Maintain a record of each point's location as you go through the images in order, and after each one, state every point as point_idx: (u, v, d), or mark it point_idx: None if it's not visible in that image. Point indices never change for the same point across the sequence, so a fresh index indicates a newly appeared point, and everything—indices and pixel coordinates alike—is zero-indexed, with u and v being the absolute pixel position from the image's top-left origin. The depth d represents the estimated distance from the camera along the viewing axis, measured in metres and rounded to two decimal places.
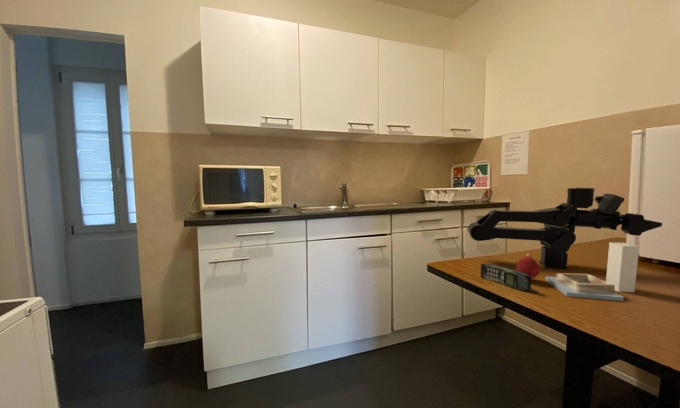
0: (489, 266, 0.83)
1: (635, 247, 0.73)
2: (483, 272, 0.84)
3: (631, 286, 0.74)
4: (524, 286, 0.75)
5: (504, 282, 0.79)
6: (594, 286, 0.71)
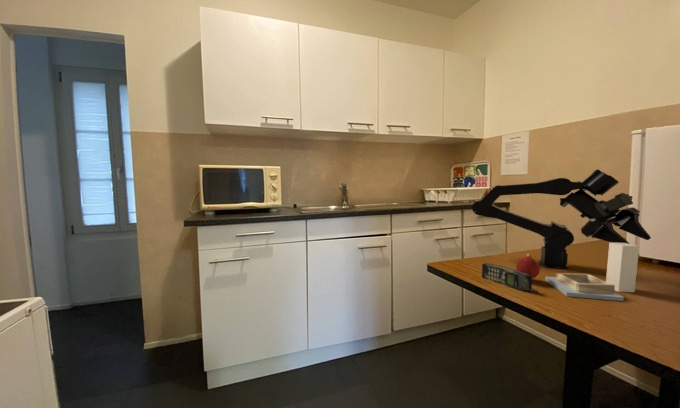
0: (490, 266, 0.83)
1: (635, 247, 0.73)
2: (484, 272, 0.84)
3: (631, 286, 0.74)
4: (524, 286, 0.75)
5: (505, 281, 0.79)
6: (594, 286, 0.71)
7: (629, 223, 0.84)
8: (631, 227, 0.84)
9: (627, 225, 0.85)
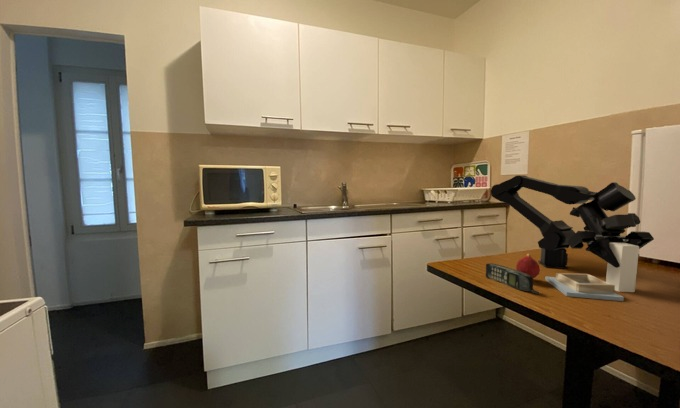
0: (493, 266, 0.83)
1: (635, 247, 0.73)
2: (488, 272, 0.85)
3: (631, 286, 0.74)
4: (525, 287, 0.74)
5: (507, 282, 0.79)
6: (594, 286, 0.71)
7: None
8: None
9: None
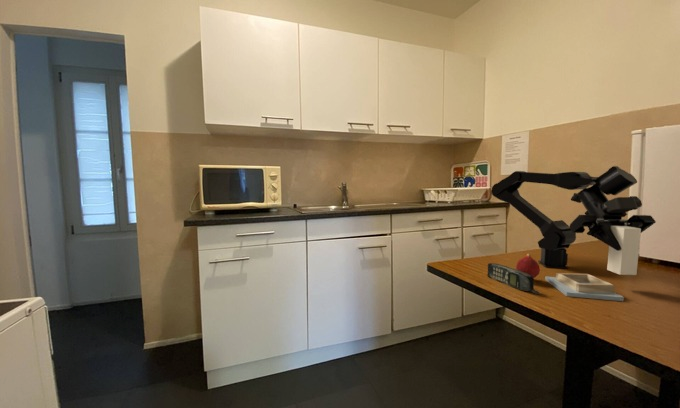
0: (495, 266, 0.83)
1: (637, 229, 0.73)
2: (490, 272, 0.85)
3: (633, 269, 0.74)
4: (525, 287, 0.74)
5: (508, 282, 0.79)
6: (594, 286, 0.71)
7: None
8: None
9: None
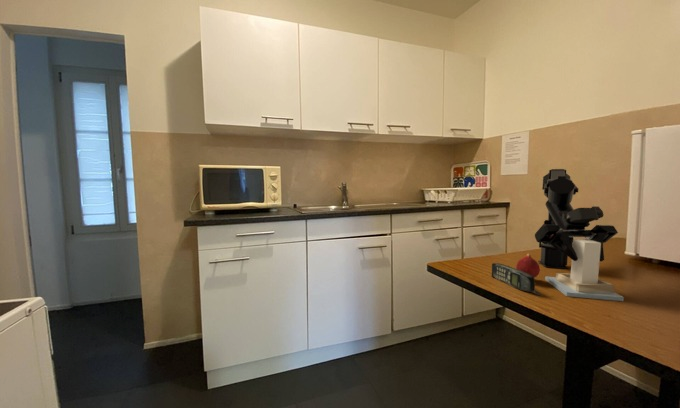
0: (498, 266, 0.83)
1: (597, 244, 0.73)
2: (493, 271, 0.85)
3: (594, 283, 0.74)
4: (526, 287, 0.74)
5: (510, 282, 0.79)
6: (594, 286, 0.71)
7: (592, 240, 0.77)
8: None
9: None
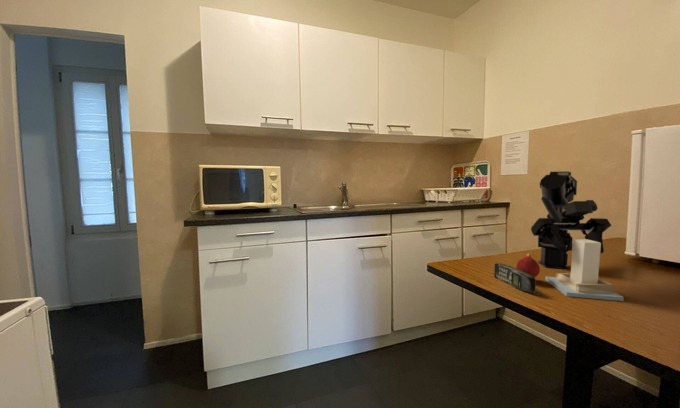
0: (501, 266, 0.83)
1: (597, 244, 0.73)
2: (496, 272, 0.85)
3: (594, 283, 0.74)
4: (526, 287, 0.74)
5: (511, 282, 0.79)
6: (594, 286, 0.71)
7: (592, 233, 0.79)
8: (592, 238, 0.79)
9: (590, 235, 0.80)
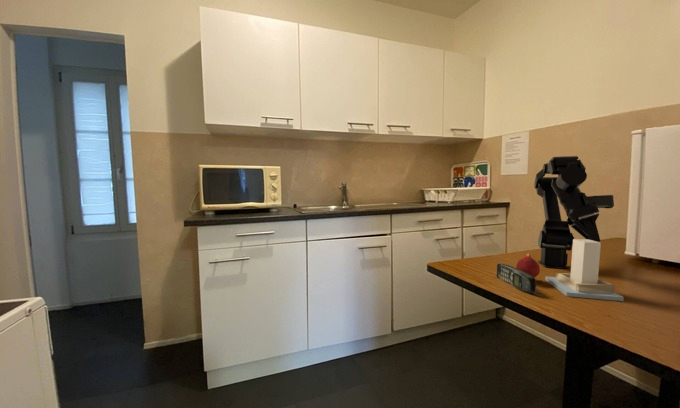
0: (503, 266, 0.83)
1: (597, 243, 0.73)
2: (498, 272, 0.85)
3: (594, 283, 0.74)
4: (526, 288, 0.73)
5: (513, 282, 0.78)
6: (594, 286, 0.71)
7: None
8: None
9: None
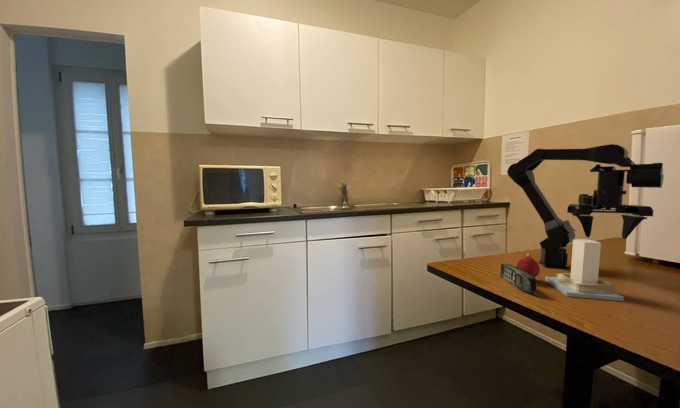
0: (506, 266, 0.83)
1: (597, 244, 0.73)
2: (502, 272, 0.84)
3: (594, 283, 0.74)
4: (527, 288, 0.73)
5: (514, 283, 0.78)
6: (594, 286, 0.71)
7: None
8: None
9: None
